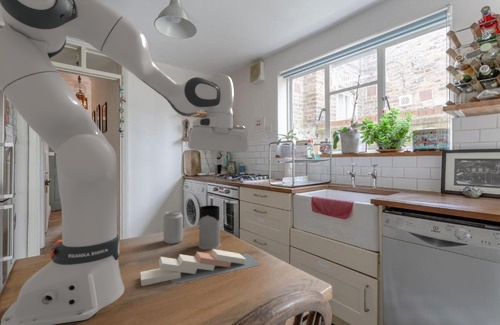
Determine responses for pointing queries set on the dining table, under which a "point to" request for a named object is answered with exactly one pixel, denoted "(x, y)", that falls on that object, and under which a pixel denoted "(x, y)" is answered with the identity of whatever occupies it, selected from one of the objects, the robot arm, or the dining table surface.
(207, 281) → the dining table surface
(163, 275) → the domino
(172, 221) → the can
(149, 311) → the dining table surface
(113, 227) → the robot arm
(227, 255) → the domino
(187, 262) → the domino
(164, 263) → the domino
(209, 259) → the domino
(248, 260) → the mat
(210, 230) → the grey mug
